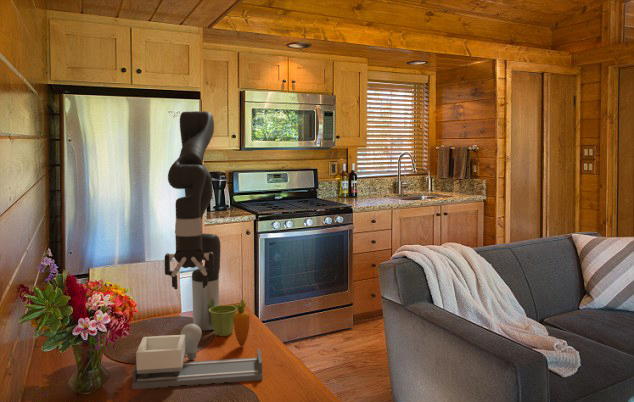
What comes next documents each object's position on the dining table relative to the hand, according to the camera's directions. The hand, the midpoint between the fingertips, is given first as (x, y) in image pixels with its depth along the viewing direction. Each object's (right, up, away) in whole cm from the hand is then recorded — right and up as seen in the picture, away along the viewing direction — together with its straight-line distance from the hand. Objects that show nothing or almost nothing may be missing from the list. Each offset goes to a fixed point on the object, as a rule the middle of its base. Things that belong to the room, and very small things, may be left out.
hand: (190, 288), depth 151 cm
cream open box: (-5, -21, -10) cm, 24 cm away
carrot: (+14, -21, +12) cm, 28 cm away
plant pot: (+5, -20, +24) cm, 32 cm away
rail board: (+5, -23, -8) cm, 25 cm away
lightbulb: (0, -22, +2) cm, 22 cm away
